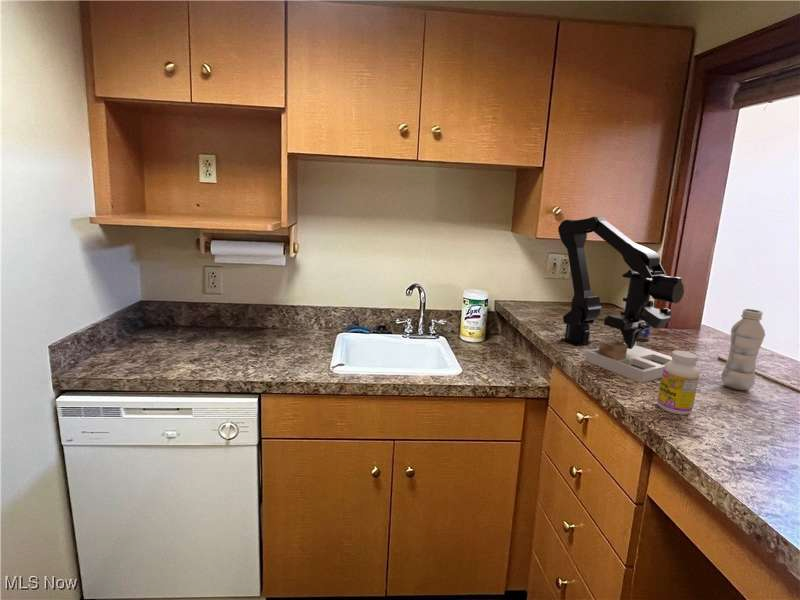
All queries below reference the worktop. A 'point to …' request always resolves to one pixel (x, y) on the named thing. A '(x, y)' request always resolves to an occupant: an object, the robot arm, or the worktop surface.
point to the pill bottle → (645, 334)
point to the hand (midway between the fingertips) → (629, 348)
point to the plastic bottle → (744, 351)
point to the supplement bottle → (679, 383)
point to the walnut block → (613, 349)
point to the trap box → (632, 363)
